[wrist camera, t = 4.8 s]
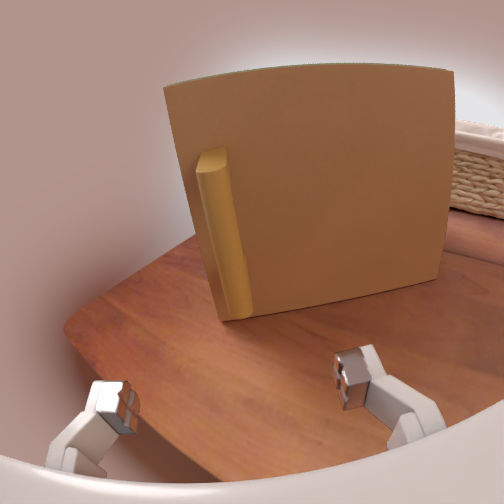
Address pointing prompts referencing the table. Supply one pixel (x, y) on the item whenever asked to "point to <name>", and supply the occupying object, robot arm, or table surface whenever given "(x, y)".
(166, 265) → the table surface
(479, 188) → the basket
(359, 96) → the cupboard door
